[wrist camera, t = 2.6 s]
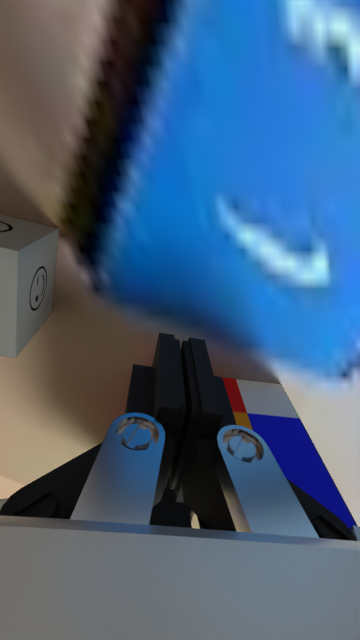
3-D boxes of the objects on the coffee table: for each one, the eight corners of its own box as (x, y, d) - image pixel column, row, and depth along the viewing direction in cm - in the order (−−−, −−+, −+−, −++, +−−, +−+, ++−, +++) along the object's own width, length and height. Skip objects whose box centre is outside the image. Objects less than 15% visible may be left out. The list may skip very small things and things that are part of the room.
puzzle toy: (281, 383, 21) (364, 538, 12) (244, 477, 26) (285, 643, 17) (138, 367, 20) (117, 523, 11) (125, 468, 25) (101, 640, 16)
